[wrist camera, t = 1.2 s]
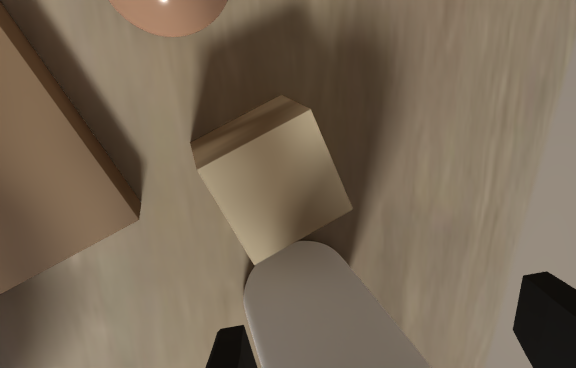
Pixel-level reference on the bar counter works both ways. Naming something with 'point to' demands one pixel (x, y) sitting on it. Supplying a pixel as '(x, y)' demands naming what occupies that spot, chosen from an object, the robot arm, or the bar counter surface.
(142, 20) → the brown rounded piece
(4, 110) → the board
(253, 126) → the block
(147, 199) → the bar counter surface
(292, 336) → the can
